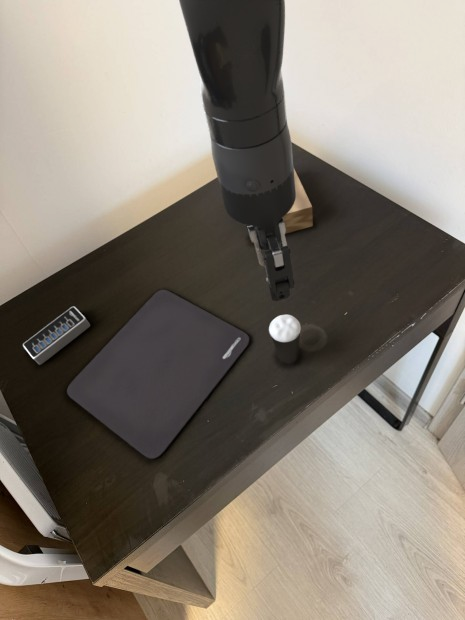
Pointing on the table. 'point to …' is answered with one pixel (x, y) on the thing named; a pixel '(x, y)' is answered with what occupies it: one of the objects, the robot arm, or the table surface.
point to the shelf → (299, 210)
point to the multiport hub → (56, 335)
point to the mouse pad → (157, 371)
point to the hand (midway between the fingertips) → (271, 271)
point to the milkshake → (286, 337)
